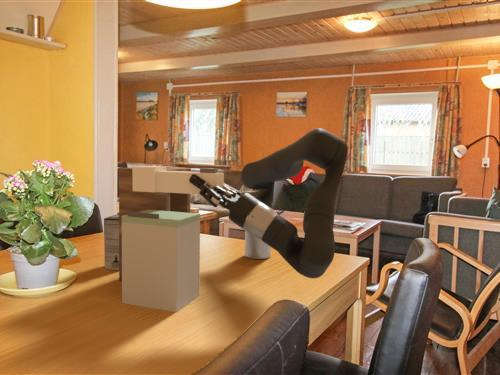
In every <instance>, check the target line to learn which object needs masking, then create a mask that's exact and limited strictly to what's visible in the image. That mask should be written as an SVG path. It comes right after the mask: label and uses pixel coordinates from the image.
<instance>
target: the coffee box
mask: <svg viewBox="0 0 500 375" xmlns="http://www.w3.org/2000/svg"><path fill="white" fill-rule="evenodd" d="M103 237H104V238H103V240H104V242H103V246H104V248H103V250H104V269H105V270H112V271H113V270H114V271H119V213H117V214H114V215H111V216H107V217H104V218H103Z"/></svg>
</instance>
